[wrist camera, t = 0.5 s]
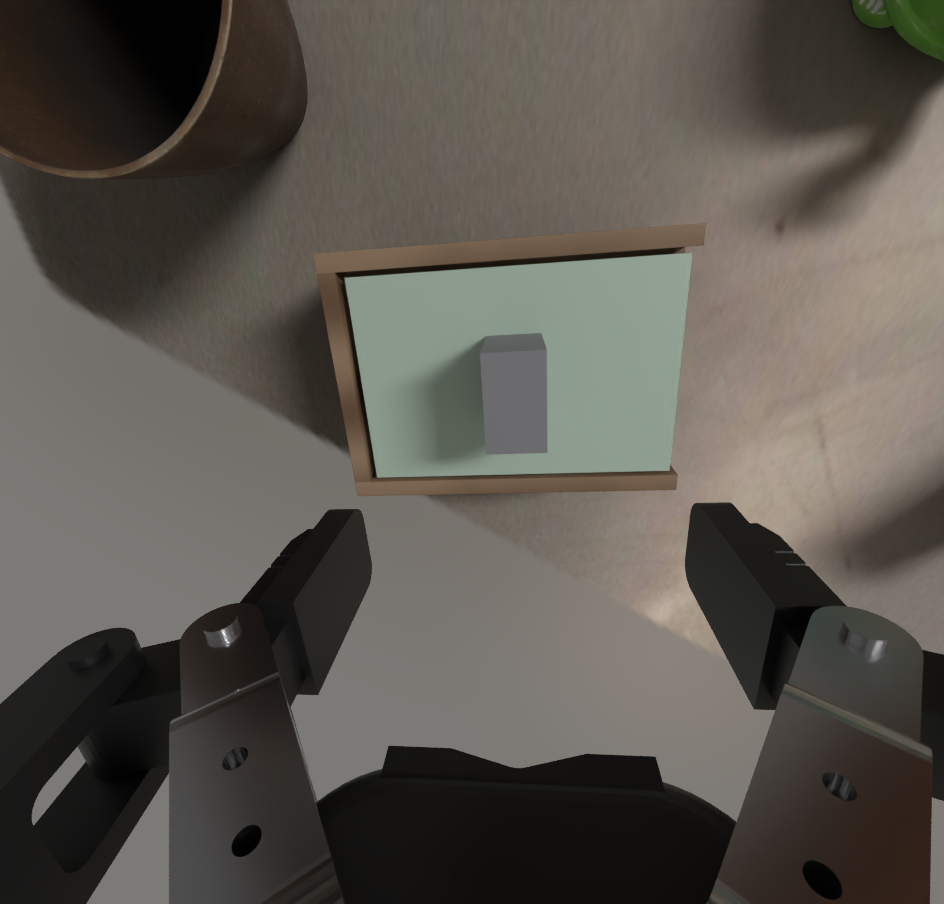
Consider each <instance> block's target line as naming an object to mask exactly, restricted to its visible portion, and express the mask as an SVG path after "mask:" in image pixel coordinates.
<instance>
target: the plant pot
mask: <svg viewBox="0 0 944 904" xmlns="http://www.w3.org/2000/svg"><path fill="white" fill-rule="evenodd" d="M210 66H211V67H210ZM209 68H210V70H209ZM307 94H308V93H307V79H306V72H305V66H304V60H303V55H302V50H301V46H300V42H299V38H298V34H297V31H296V28H295V24H294V21H293V18H292V14H291V11H290V8H289V5H288V2H287V0H0V153H1V154H3V155H4V156H6V157H8V158H10V159H12V160H14V161H16V162H19V163H21V164H23V165H25V166H28V167H31V168H34V169H37V170H40V171H43V172H46V173H49V174H54V175H59V176H64V177H71V178H84V179H143V178H168V177H181V176H191V175H199V174H206V173H212V172H217V171H221V170H226V169H230V168H234V167H237V166H241V165H244V164H247V163H250V162H252V161H255V160H258V159H260V158H262V157H264V156H266V155H269V154H270V153H272V152H274V151H275V150H277V149H279V148H280V147H282V146H283V145H284V144H286V143H287V142H288V141H289V140H290V139H291V138H292V137H293V136H294V135H295V134H296V132H297V131H298V129H299V127H300V125H301V123H302V121H303V118H304V115H305V112H306V106H307Z"/></svg>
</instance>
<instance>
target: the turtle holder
mask: <svg viewBox="0 0 944 904" xmlns="http://www.w3.org/2000/svg"><path fill="white" fill-rule="evenodd" d="M852 6H853V10H854V13H855V15H856V16H857V18H858V19H859V20H860V21H861V22H862V23H864V24H865V25H868V26H870V27H874V28H885V27H889V26H892V25H893V27H894V29H895V30H896V31H897V33H898V34H899V35H900V36H901V37H902V38H903V39H904V40H905V41H906V42H908V43H909V44H910V45H912V46H913V47H915V48H916V49H918V50H919V51H921V52H923V53H925V54H927V55H929V56H932V57H935V58H937V59H939V60H941V61H943V62H944V0H852Z"/></svg>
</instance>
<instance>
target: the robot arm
mask: <svg viewBox="0 0 944 904" xmlns="http://www.w3.org/2000/svg"><path fill="white" fill-rule="evenodd" d="M685 570H686V577H687V581H688V584H689V587H690V589H691V591H692V593H693V594H694V596H695V598H696V600H697V602H698V604H699V606H700V608H701V610H702V611H703V613H704V615H705V617H706V619H707V621H708V623H709V625H710V627H711V629H712V630H713V632H714V634H715V636H716V638H717V640H718V642H719V644H720V646H721V648H722V649H723V651H724V653H725V655H726V657H727V659H728V661H729V663H730V665H731V667H732V668H733V670H734V672H735V674H736V676H737V678H738V680H739V682H740V684H741V685H742V687H743V689H744V691H745V693H746V695H747V697H748V699H749V700H750V703H751V704H752V706H753V708H754V709H762V710H775V713H774V716H773V719H772V722H771V724H770V727H769V730H768V733H767V736H766V739H765V742H764V745H763V748H762V751H761V753H760V756H759V759H758V762H757V765H756V768H755V771H754V773H753V776H752V779H751V782H750V785H749V788H748V791H747V794H746V796H745V799H744V802H743V805H742V808H741V811H740V814H739V817H738V819H737V822H736V821H734V820H733V819H732V818H731V817H729V816H728V815H727V814H725V813H724V812H722V811H721V810H719V809H718V808H716V807H715V806H713V805H712V804H710V803H708V802H707V801H705V800H703V799H701V798H699V797H698V796H696V795H694V794H692V793H690V792H688V791H685V790H683V789H680V788H678V787H675V786H673V785H670V784H667V783H664V782H662V779H661V775H660V771H659V768H658V764H657V761H656V757H648V756H624V755H598V754H584V755H580V756H575V757H571V758H566V759H562V760H557V761H553V762H549V763H544V764H540V765H535V766H530V767H526V768H512V767H508V766H505V765H502V764H499V763H496V762H492V761H489V760H486V759H483V758H480V757H477V756H474V755H470V754H467V753H464V752H461V751H458V750H454V749H451V748H429V747H427V748H426V747H404V746H389V747H388V750H387V754H386V758H385V762H384V765H383V769H381V770H377V771H373V772H370V773H368V774H365V775H362V776H359V777H357V778H355V779H353V780H351V781H349V782H347V783H345V784H343V785H341V786H340V787H338V788H337V789H335V790H333V791H331V792H330V793H328V794H327V795H326V796H325V797H323V798H322V799H321V800H319V801H318V800H317V797H316V793H315V790H314V787H313V783H312V779H311V776H310V773H309V769H308V766H307V762H306V759H305V755H304V752H303V749H302V745H301V741H300V738H299V735H298V731H297V728H296V724H295V721H294V718H293V714H292V711H291V705H292V703H293V701H294V699H295V697H296V695H297V694H303V695H318V694H319V692H320V689H321V687H322V685H323V683H324V681H325V679H326V677H327V674H328V672H329V670H330V668H331V666H332V664H333V662H334V659H335V657H336V655H337V653H338V651H339V649H340V647H341V645H342V643H343V640H344V638H345V636H346V634H347V632H348V629H349V627H350V625H351V623H352V621H353V619H354V617H355V615H356V613H357V610H358V608H359V606H360V604H361V602H362V600H363V597H364V595H365V593H366V591H367V589H368V587H369V584H370V580H371V573H372V562H371V556H370V551H369V546H368V540H367V535H366V529H365V524H364V518H363V515H362V513H361V511H360V510H359V509H335V510H328V511H327V512H326V513H325V515H324V516H323V517H322V519H321V520H320V521H319V523H318V524H317V525H316V526H315V528H314V529H308V530H306V531H305V532H303V533H302V534H300V535H299V536H297V537H296V538H294V539H293V540H291V541H290V543H289V544H288V545H287V546H286V547H285V549H284V550H283V551H282V552H281V553H280V556H279V557H277V558H276V559H275V561H274V562H273V563H272V564H271V568H268V569H267V570H266V572H265V573H264V574H263V575H262V577H261V578H260V579H259V580H258V581H257V583H256V584H255V585H254V586H253V587H252V589H251V590H250V591H249V592H248V593H247V595H246V596H245V597H244V598H243V599H242V601H241V602H240V603H236V604H230V605H226V606H223V607H220V608H217V609H215V610H212V611H210V612H208V613H206V614H205V615H203V616H202V617H200V618H199V619H197V620H196V621H195V622H194V623H192V624H191V625H190V626H189V627H188V628H187V629H186V631H185V632H184V634H183V635H182V637H181V639H179V640H175V641H171V642H166V643H162V644H157V645H152V646H148V647H143V648H141V647H140V644H139V642H138V640H137V638H136V636H135V633H134V632H133V631H132V630H130V629H126V628H112V629H107V630H103V631H99V632H96V633H93V634H90V635H88V636H86V637H84V638H82V639H80V640H77V641H75V642H74V643H72V644H70V645H69V646H67V647H65V648H64V649H62V650H61V651H60V652H58V653H57V654H56V655H55V656H53V657H52V658H51V659H50V660H49V661H48V662H47V663H45V664H44V665H43V666H42V667H41V668H40V669H39V670H38V671H37V672H35V673H34V674H33V675H32V676H31V677H30V678H29V679H28V680H26V681H25V682H24V683H23V684H22V685H21V686H20V687H19V688H18V689H17V690H15V691H14V692H13V693H12V694H11V695H10V696H9V697H8V698H7V699H5V700H4V701H3V702H2V703H1V704H0V904H86V903H87V902H88V900H89V898H90V897H91V895H92V893H93V892H94V891H95V889H96V887H97V886H98V884H99V883H100V881H101V879H102V878H103V876H104V875H105V873H106V872H107V870H108V868H109V866H110V865H111V864H112V862H113V860H114V859H115V857H116V856H117V854H118V853H119V851H120V849H121V848H122V846H123V845H124V843H125V841H126V840H127V838H128V837H129V835H130V834H131V832H132V830H133V829H134V827H135V825H136V824H137V822H138V821H139V819H140V818H141V816H142V814H143V813H144V811H145V810H146V808H147V806H148V805H149V804H150V802H151V800H152V799H153V797H154V796H155V794H156V792H157V791H158V789H159V788H160V786H161V784H162V783H163V781H164V780H165V778H166V776H167V775H168V773H169V904H930V873H931V871H930V870H931V819H932V817H931V816H932V797H933V798H936V799H939V800H943V801H944V655H943V654H938V653H933V652H929V651H925V650H922V649H921V647H920V645H919V644H918V642H917V641H916V640H915V639H914V638H913V637H912V636H911V635H910V634H909V633H908V632H907V631H905V630H904V629H903V628H901V627H900V626H898V625H897V624H895V623H893V622H891V621H889V620H888V619H886V618H883V617H881V616H879V615H876V614H874V613H871V612H868V611H865V610H861V609H858V608H853V607H847V606H846V605H845V604H844V603H843V602H842V601H841V600H840V599H839V598H838V596H837V595H836V594H835V593H834V592H833V591H832V590H831V589H830V588H829V587H828V586H827V585H826V584H825V583H824V582H823V581H822V580H821V579H820V578H819V577H818V576H817V575H816V573H815V572H814V571H813V570H812V569H811V568H810V567H809V566H806V565H805V562H804V561H803V560H802V559H801V558H800V557H799V556H798V555H797V554H794V550H793V549H792V548H791V547H790V546H789V545H788V544H787V543H786V542H785V541H784V540H783V539H782V538H781V537H780V536H779V535H777V534H775V533H774V532H772V531H770V530H768V529H767V528H765V527H763V526H761V525H760V524H758V523H749V522H748V521H747V520H746V519H745V518H744V516H743V515H742V514H741V513H740V512H739V511H738V510H737V509H736V507H735V506H734V505H733V504H732V503H729V502H727V503H695V504H694V505H693V506H692V509H691V514H690V522H689V531H688V540H687V548H686V557H685ZM77 746H78V748H79V750H80V752H81V753H82V755H83V757H84V759H85V760H86V762H85V764H84V765H83V766H82V767H81V769H80V770H79V771H78V772H77V773H76V775H75V776H74V777H73V778H72V780H71V781H70V782H69V783H68V785H67V786H66V787H65V788H64V790H63V791H62V792H61V793H60V794H59V796H58V797H57V798H56V799H55V800H54V802H53V803H52V804H51V806H50V807H49V808H48V809H47V810H46V812H45V813H44V814H43V815H42V817H41V818H40V819H39V820H38V821H37V823H36V824H35V825H34V826H33V824H32V809H33V806H34V803H35V800H36V798H37V796H38V794H39V792H40V791H41V789H42V788H43V786H44V785H45V784H46V782H47V781H48V780H49V779H50V778H51V777H52V775H53V774H54V773H55V772H56V771H57V770H58V768H59V767H60V766H61V765H62V764H63V762H64V761H65V760H66V759H67V758H68V757H69V756H70V754H71V753H72V752H73V751H74V750H75V749H76V747H77Z"/></svg>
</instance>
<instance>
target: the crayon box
mask: <svg viewBox="0 0 944 904" xmlns="http://www.w3.org/2000/svg"><path fill="white" fill-rule="evenodd" d="M705 228H706V223H699V224H687V225H674V226H661V227H649V228H636V229H623V230H610V231H598V232H585V233H572V234H560V235H547V236H534V237H522V238H509V239H496V240H484V241H471V242H458V243H446V244H433V245H420V246H408V247H395V248H382V249H369V250H357V251H344V252H331V253H319V254H313V255H314V261H315V266H316V272H317V277H318V282H319V288H320V293H321V299H322V304H323V310H324V315H325V320H326V326H327V331H328V337H329V342H330V348H331V353H332V358H333V364H334V369H335V375H336V380H337V386H338V391H339V396H340V402H341V407H342V413H343V418H344V424H345V429H346V434H347V440H348V445H349V451H350V456H351V462H352V467H353V472H354V478H355V483H356V489H357V494H358V496H382V495H383V496H384V495H436V494H487V493H539V492H590V491H641V490H676V486H677V477H678V475H677V473H676V472H675V471H674V469H673V468H672V467H671V465H670V471H634V472H592V473H550V474H508V475H466V476H424V477H381V478H377V473H376V467H375V461H374V455H373V449H372V443H371V437H370V431H369V424H368V418H367V412H366V406H365V400H364V394H363V388H362V382H361V375H360V369H359V363H358V357H357V351H356V345H355V339H354V333H353V326H352V320H351V314H350V308H349V302H348V296H347V290H346V284H345V278H348V277H359V276H373V275H387V274H401V273H414V272H428V271H442V270H456V269H469V268H483V267H497V266H511V265H525V264H538V263H552V262H566V261H580V260H594V259H607V258H621V257H635V256H649V255H663V254H676V253H685V247H689V246H702V245H704V237H705Z"/></svg>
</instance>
